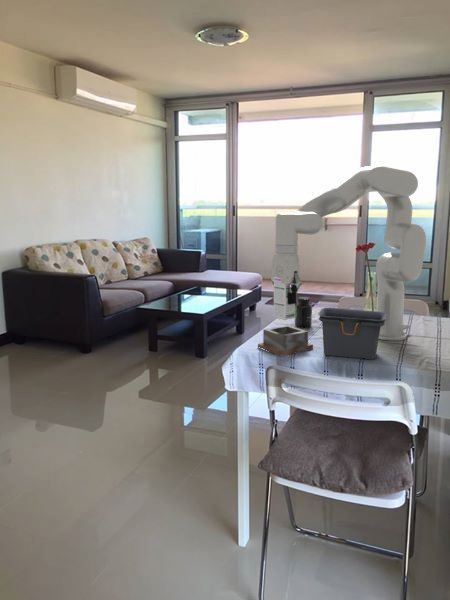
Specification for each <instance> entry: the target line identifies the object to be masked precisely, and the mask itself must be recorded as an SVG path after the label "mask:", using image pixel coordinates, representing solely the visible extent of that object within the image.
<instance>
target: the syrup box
mask: <svg viewBox="0 0 450 600" xmlns="http://www.w3.org/2000/svg"><path fill="white" fill-rule="evenodd" d="M292 283H293V282H292ZM291 286H292V287H293V285H291ZM288 293H289V289H288V285H286V284H283V283H281V278H278V277H274V285H273V317H274V318H275V319H279V320H282V321H286V320H290V319H295V318H296V317H297V304H298V291H297V292H296V303H295V304H288Z"/></svg>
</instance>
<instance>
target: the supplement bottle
mask: <svg viewBox="0 0 450 600" xmlns="http://www.w3.org/2000/svg"><path fill="white" fill-rule="evenodd" d="M310 300H311V298H310V297H309V296H308V297H307V296H299V297H297V317H296V318H294V327H296V328H299V329H310V328H311V327H312V317H313V306H312V305H311V304H310V303H311V301H310Z"/></svg>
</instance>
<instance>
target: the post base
mask: <svg viewBox="0 0 450 600" xmlns="http://www.w3.org/2000/svg"><path fill="white" fill-rule="evenodd" d="M262 331H263V336H262V337H263V338H262V340H263V342H260V343H257V348H258V347H260V348H263V349H265V350H267V351H269V352H270V354H272V355H275V356H277V357H282V356H287V355H288V356H289V355H291V354H295V352H297V353H300V352H299V351H301V352H304V351H303V350H306V351H309V350H308V349H310V350H313V349H314V344H312V343H309V331H308V330H304V329H303V328H298V327H296V326H292V325H289V324H286V325H279V326H275V327H270V328H269V327H268V328H263V330H262ZM260 348H259V349H260ZM265 350H264V351H265ZM267 351H266V352H267ZM269 352H268V353H269Z"/></svg>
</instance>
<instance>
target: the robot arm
mask: <svg viewBox="0 0 450 600" xmlns="http://www.w3.org/2000/svg"><path fill="white" fill-rule="evenodd" d="M418 186H419V181H418V178H417V176H416V175H415V174H414V173H412V172H411V171H408V170H403V169H398V168H393V167H390V166H389V167H388V166H383V165H371V166H370V165H369V166H364V167H360V168H357V169H356V170H355V171H354V172H352V173H351V174H349V175H348V176H347V177H346V178H344V179H343V180H342V181H340V182H339V183H337V184H336V185H334V187H332V188H331V189H329V190H327V191H325V192H323V193H321V194H320V195H319V196H316V197H315V198H312V199H311V200H309V201H308V202H306V203H305V204H303V205H302V206H301V207H300V208H298V209H297V210H296V211H294V212H279V213H277V214H276V215H275V236H274V237H275V243H274V245H275V246H274V249H275V251H274V252H275V253H273V257H272V261H271V262H272V263H271V276H270V281H271V282H272V285H273V286H274V277H278V278H281V283H283V284H286V285H288V289H289V293H288V304H295V303H296V292H297V293H298V290H299V289H300V287H301V286H302V285H303V281H302V280H301V278H300V260H299V255H298V248H299V246H298V245H299V244H298V241H299V235H300V234H301V235H308V236H309V235H310V236H313V235H315V234H317V233H320V232H321V231H322V229H323V226H324V220H323V218H324V217H326V216H329V215H332V214H337V213H340V212H342V211H344V210H347V209H348V208H350V207H351V206H352V205H354V204H355V203H356V202H357V201H359V200H360V199H361V198H363V197H364V196H365V195H366V194H368V193H372V192H373V193H374V192H376V193H378V194H379V195H380V197H382V199H383V200H384V202H385V205H386V208H387V210H386V212H387V213H386V214H387V215H386V220H385V221H386V223H385V230H384V235H383V241H384V244H385V246H386V247H388V248H390V249H393V250H394V249H395V250H399V252H400V253H398V252H385V253H383V254H382V255H380V256H379V257H378V258H377V260H376V264H375V270H376V279H377V297H376V299H377V300H376V311H377V312H384V313H386V319H385V323H384V325H383V326H381V328H380V334H379V340H382V341H391V342H392V341H402V340H405V339H407V333H405V332H404V331H405V330H408V329H410V327H411V326H410V324H409V323H405V324H404V323H403V322H404V309H405V308H404V307H405V306H404V305H405V293H406V292H405V284H404V283H411V282H415V281H416V280H417V279H418V278H419V277H420V275H421V273H422V269H423V263H424V258H425V250H426V245H427V235H426V232H425V229H424V228H423V227H422V226H421V225H419V224H417V223H412V219H413V205H412V200H411V199H410V197H411V196H412V195H413V194H414V193H415V192H416V191H417V190H418ZM292 282H293V283H292ZM291 285H293V287H292V286H291Z"/></svg>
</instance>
